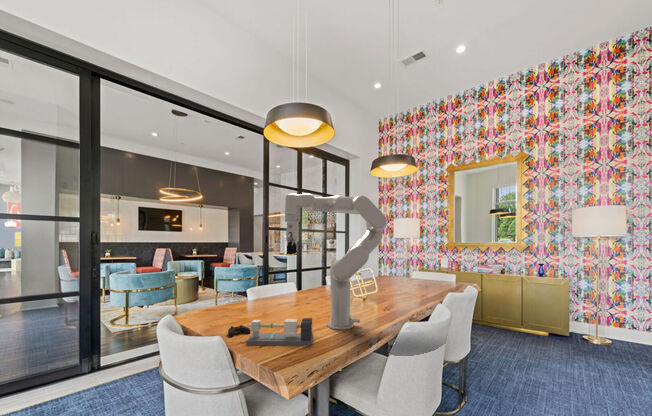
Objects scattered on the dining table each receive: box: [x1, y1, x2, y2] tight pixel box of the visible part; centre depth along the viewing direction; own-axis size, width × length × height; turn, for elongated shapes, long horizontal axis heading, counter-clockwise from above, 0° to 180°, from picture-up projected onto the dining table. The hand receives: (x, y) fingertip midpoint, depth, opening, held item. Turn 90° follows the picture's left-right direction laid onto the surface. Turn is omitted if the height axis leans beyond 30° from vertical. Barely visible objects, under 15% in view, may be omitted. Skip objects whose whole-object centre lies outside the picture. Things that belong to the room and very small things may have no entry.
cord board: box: [245, 317, 314, 346], centre depth 119 cm, size 27×10×8 cm, turn 89°
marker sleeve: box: [283, 318, 299, 333], centre depth 119 cm, size 5×4×4 cm
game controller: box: [227, 324, 252, 338], centre depth 128 cm, size 10×5×6 cm
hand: (291, 253), depth 141 cm, fingers open, 9 cm apart
